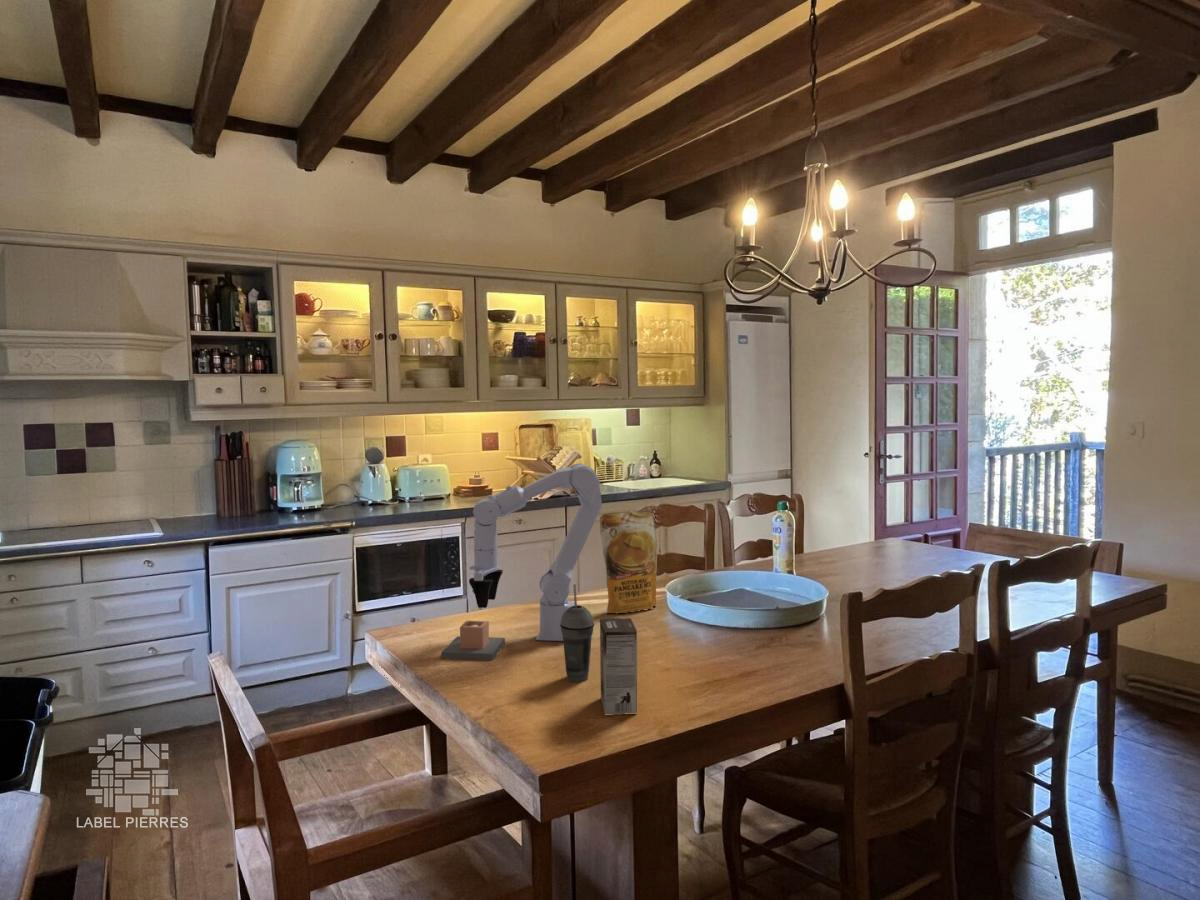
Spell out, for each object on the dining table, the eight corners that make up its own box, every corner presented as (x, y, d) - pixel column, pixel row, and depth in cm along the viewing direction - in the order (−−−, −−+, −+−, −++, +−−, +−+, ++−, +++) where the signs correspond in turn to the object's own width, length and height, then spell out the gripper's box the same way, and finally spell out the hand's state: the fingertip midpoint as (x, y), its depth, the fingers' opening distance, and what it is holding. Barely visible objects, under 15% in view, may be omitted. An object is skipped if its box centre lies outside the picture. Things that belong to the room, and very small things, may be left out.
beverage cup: (569, 686, 157) (568, 591, 155) (554, 675, 163) (554, 583, 162) (600, 680, 160) (600, 587, 159) (585, 669, 166) (584, 580, 165)
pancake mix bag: (594, 611, 214) (594, 512, 212) (652, 602, 222) (652, 508, 221) (605, 617, 208) (605, 515, 206) (664, 608, 216) (664, 511, 215)
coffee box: (599, 697, 151) (599, 617, 150) (631, 696, 151) (631, 616, 150) (603, 716, 142) (603, 631, 141) (637, 715, 142) (637, 630, 141)
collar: (488, 641, 182) (488, 621, 181) (482, 648, 176) (482, 627, 176) (467, 640, 182) (466, 620, 182) (460, 648, 177) (460, 626, 177)
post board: (505, 643, 185) (504, 619, 184) (492, 660, 173) (492, 634, 172) (457, 642, 186) (456, 618, 186) (441, 658, 174) (441, 632, 174)
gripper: (478, 543, 194) (478, 595, 194) (461, 554, 179) (462, 610, 180) (505, 543, 193) (505, 596, 194) (490, 554, 178) (491, 611, 179)
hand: (486, 603), depth 187 cm, fingers open, 7 cm apart
